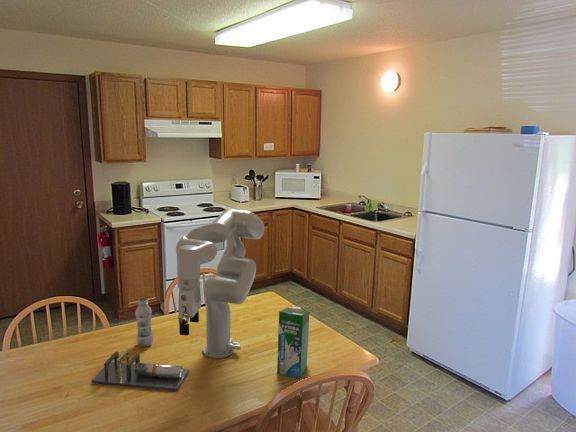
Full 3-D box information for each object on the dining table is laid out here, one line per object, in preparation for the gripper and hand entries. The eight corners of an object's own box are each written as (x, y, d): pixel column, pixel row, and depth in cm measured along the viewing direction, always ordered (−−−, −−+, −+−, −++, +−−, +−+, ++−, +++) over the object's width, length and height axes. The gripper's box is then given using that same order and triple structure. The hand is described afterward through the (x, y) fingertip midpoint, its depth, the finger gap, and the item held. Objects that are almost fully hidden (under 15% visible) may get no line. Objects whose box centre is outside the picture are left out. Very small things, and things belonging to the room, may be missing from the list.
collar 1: (119, 365, 156) (118, 351, 154) (108, 378, 148) (107, 363, 147) (116, 365, 156) (115, 351, 155) (105, 378, 148) (104, 363, 147)
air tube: (182, 374, 152) (182, 363, 151) (178, 381, 147) (178, 370, 147) (140, 370, 153) (139, 359, 152) (134, 377, 149) (134, 366, 148)
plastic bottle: (155, 341, 176) (154, 296, 172) (149, 349, 170) (147, 303, 165) (141, 340, 177) (139, 295, 173) (133, 348, 170) (131, 302, 166)
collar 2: (140, 367, 155) (139, 353, 154) (130, 380, 147) (129, 365, 146) (136, 367, 155) (136, 353, 154) (126, 380, 147) (126, 365, 146)
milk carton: (307, 365, 162) (309, 305, 157) (300, 378, 154) (302, 315, 148) (285, 361, 165) (287, 301, 159) (277, 373, 156) (278, 311, 151)
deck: (189, 371, 156) (188, 368, 155) (177, 391, 144) (177, 388, 144) (109, 364, 158) (109, 361, 158) (91, 383, 147) (91, 380, 146)
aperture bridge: (130, 367, 155) (129, 348, 154) (120, 379, 148) (119, 359, 146) (128, 366, 155) (127, 348, 154) (117, 379, 148) (116, 359, 146)
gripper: (190, 292, 133) (191, 341, 137) (207, 274, 150) (207, 318, 154) (168, 290, 134) (169, 339, 138) (187, 272, 151) (187, 316, 154)
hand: (189, 328), depth 146 cm, fingers open, 9 cm apart
